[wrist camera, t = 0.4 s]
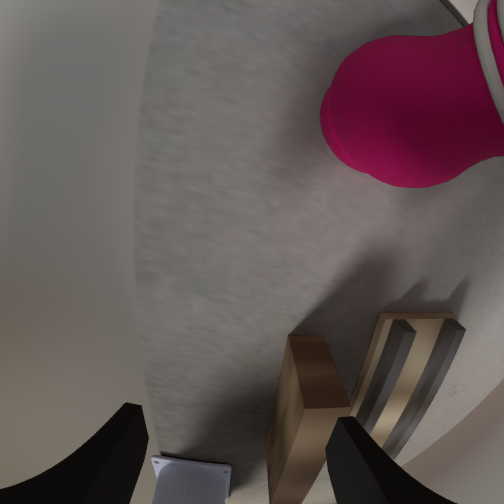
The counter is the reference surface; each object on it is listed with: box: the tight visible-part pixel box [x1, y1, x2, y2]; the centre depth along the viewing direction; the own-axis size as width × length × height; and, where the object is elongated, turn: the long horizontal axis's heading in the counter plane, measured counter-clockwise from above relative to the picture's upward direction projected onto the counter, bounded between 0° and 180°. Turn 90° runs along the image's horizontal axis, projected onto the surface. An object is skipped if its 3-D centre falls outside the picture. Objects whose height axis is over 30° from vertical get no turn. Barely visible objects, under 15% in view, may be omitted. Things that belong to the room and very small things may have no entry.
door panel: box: [266, 335, 351, 504], centre depth 17 cm, size 12×3×7 cm, turn 174°
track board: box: [348, 312, 466, 460], centre depth 19 cm, size 15×7×3 cm, turn 174°
